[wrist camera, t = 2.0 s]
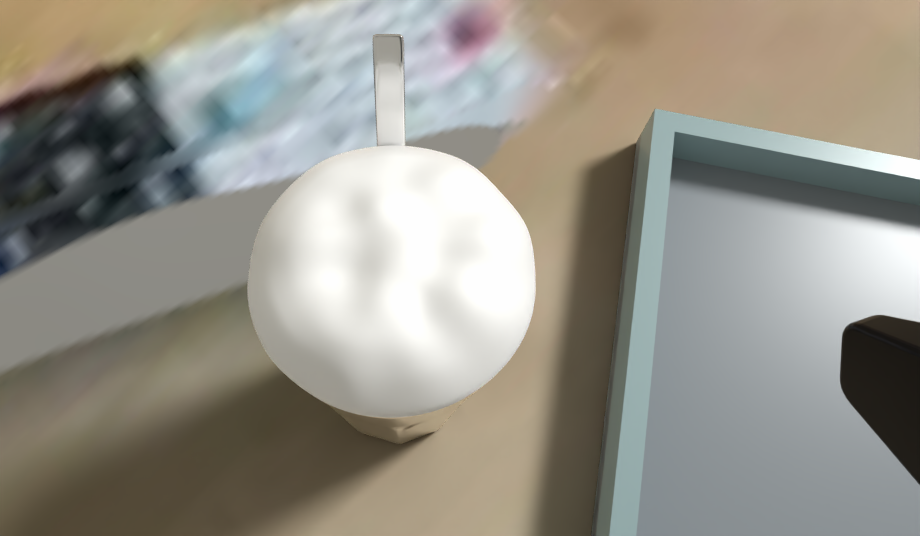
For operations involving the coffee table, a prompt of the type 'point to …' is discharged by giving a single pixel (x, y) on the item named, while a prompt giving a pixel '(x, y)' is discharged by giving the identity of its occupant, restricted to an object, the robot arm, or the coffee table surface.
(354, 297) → the milkshake
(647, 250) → the tray
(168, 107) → the coffee table surface
